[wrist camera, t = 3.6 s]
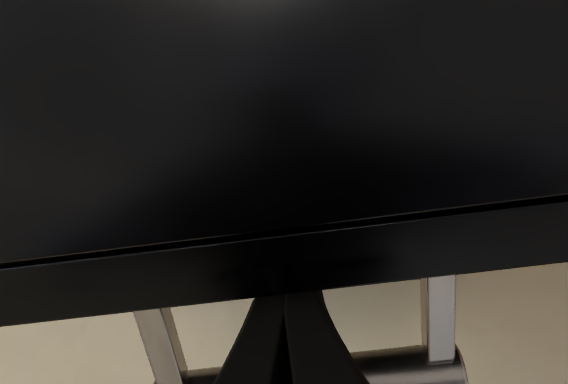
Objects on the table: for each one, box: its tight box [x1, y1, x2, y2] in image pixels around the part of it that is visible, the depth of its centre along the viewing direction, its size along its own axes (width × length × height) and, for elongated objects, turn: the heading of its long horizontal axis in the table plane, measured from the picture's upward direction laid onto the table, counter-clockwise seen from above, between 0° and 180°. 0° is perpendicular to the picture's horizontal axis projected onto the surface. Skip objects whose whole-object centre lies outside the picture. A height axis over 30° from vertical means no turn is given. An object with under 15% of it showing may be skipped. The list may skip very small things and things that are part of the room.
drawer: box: [0, 195, 568, 384], centre depth 10 cm, size 17×11×7 cm, turn 8°
